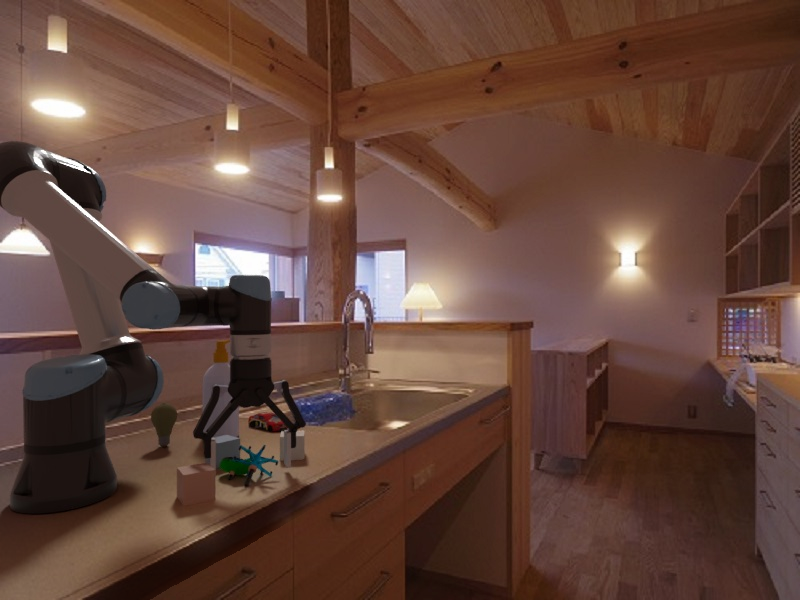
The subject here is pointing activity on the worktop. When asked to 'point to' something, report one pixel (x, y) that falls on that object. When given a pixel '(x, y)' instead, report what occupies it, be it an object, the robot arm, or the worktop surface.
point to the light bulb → (164, 422)
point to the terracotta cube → (195, 483)
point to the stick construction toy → (246, 464)
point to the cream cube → (299, 450)
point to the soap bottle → (221, 376)
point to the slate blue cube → (226, 448)
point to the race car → (266, 422)
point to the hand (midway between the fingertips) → (251, 470)
